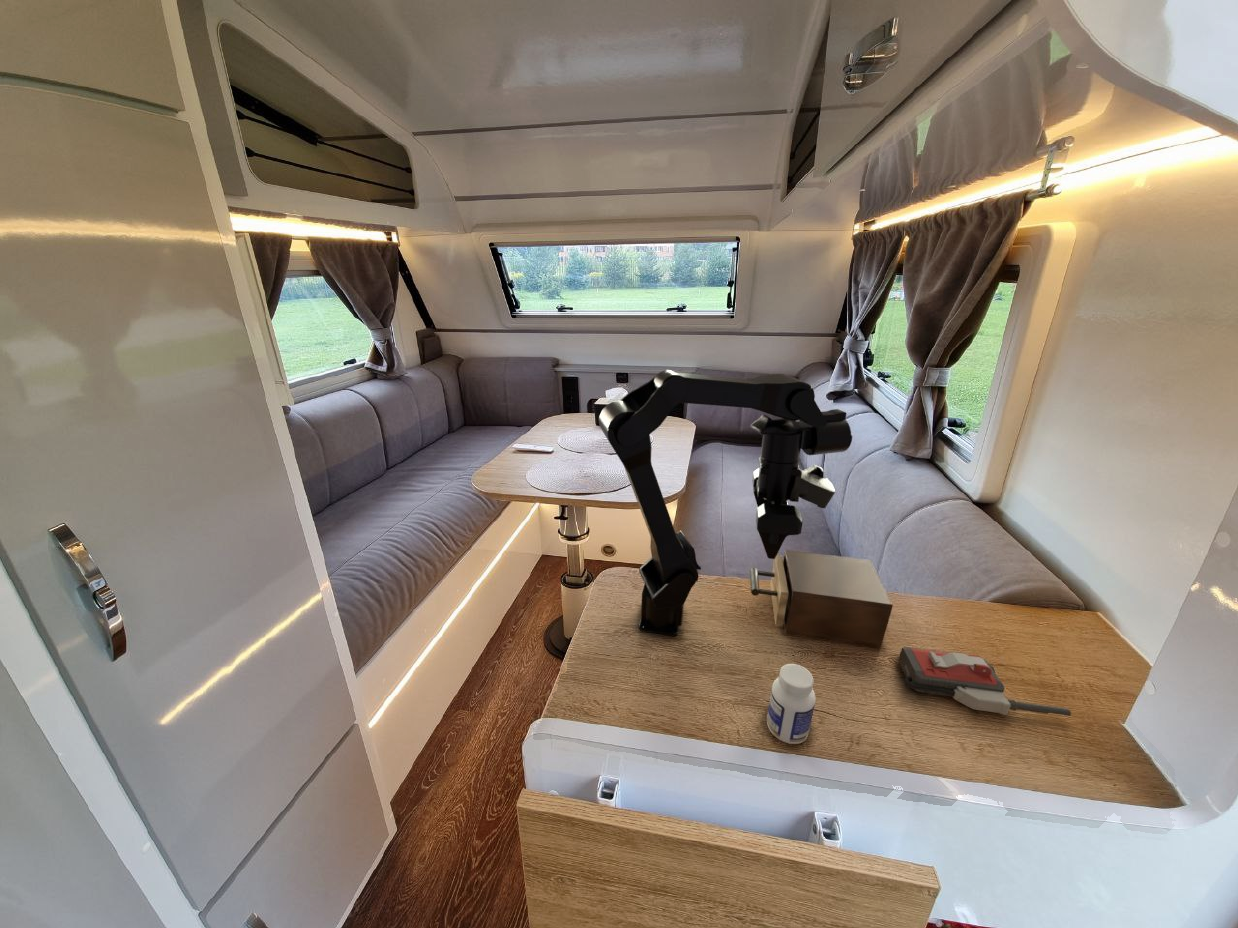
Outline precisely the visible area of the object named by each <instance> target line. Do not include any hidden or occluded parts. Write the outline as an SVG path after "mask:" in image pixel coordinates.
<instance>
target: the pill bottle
mask: <svg viewBox="0 0 1238 928" xmlns="http://www.w3.org/2000/svg"><path fill="white" fill-rule="evenodd" d="M814 680H815V679H814V676H813V675H812V672H810V671H809V670H808V669H807V668H806V667H804V666H802V665H801V664H797V663H786V664H784V665H783V666H782V667H781V668H780V670H779V675H778V677H777V678H776V679H775V680H774V681H773V683H772V686H771V689H770V690H771V691H770V694H769V695H770V696H769V702H768V708H767V715H766V724H767V727H768V730H769V732H771V734H772V735H773V736H774V737H775V738H777V739H778V740H779V741H781V742H783V743H786V744H790V745H798V744H801V743H804V742H805V741H806V740H807V738H808V737H809V734H810V729H811V724H812V720H813V716H814V711H815V706H816V699H817V698H816V693H815V691H814V689H813V687H814Z"/></svg>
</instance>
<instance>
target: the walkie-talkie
mask: <svg viewBox="0 0 1238 928" xmlns="http://www.w3.org/2000/svg"><path fill="white" fill-rule="evenodd" d="M897 662H898V664H899V666H900V668H901V670H902V672H903V674H904V676H905V677H904V685H905V686H906V687H908V688H910V689H913V690H914V691H916V693H917V692H918V693H922V694H923V693H924V694H931V695H939V696H946V697H952V698H953V699H954V700H955V701H957V702H959V703H961V704H962V705H964V706H966V707H967V708H970V709H972V710H974V711H975V710H976V711H981V712H982V711H983V712H990V713H995V714H996V713H997V714H998V715H999V714H1000V715H1004V716H1005V715H1006V716H1007V715H1008V714H1009V711H1010V710H1011V711H1022V712H1023V711H1024V712H1032V713H1039V714H1047V715H1048V714H1053V715H1061V716H1067V717H1068V716H1072V711H1071V710H1070V709H1069V708H1067V707H1062V706H1061V707H1060V706H1054V705H1053V706H1052V705H1046V704H1039V703H1030V702H1023V701H1016V700H1015V699H1011V698H1007V697H1006V696H1005V693H1004V691H1005V684H1004V682H1002V681H1001V679H1000V678H999V676H998V675H997V674H996V670H995V668H994V666H993V665H991V664H989V663H988V661H987V659H985V658H984V657H982V656H981V655H975V654H967V653H960V652H952V651H942V650H935V649H928V648H927V649H926V648H918V647H910V646H903V647H901V650H900V653H899V656H898V659H897Z"/></svg>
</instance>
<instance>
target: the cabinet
mask: <svg viewBox="0 0 1238 928" xmlns="http://www.w3.org/2000/svg"><path fill="white" fill-rule="evenodd" d="M782 560H783V565H784V571H785V576H787V570H788V574H789V579H790V584H791V589H792V596H791V601H790V606H789V610H788V605H786V611H785V616H784V622H783V626H784V633H785V635H790V636H796V637H803V638H809V639H815V640H823V641H827V642H828V641H830V642H835V643H842V644H848V645H855V646H862V647H868V648H874V649H879V650H880V649H881V648H882V645H883V641H884V639H885V634H886V631H887V628H888V625H889V621H890V617H891V614H892V609H893V606H894V604H893V602H892V600H891V598H890V596H889V594H888V592H887V589H886V588H885V586H884V584H883V582H882V579H881V578H880V576H879V574H878V572H877V570H876V568H875V566H874V564H873V562H872V560H871V559H866V558H865V559H864V558H856V557H848V556H841V555H831V554H823V553H814V552H806V551H799V550H792V549H784V554H783V558H782Z"/></svg>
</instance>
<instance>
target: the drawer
mask: <svg viewBox="0 0 1238 928" xmlns="http://www.w3.org/2000/svg"><path fill="white" fill-rule="evenodd" d="M771 571H772V572H770V571H763V570H758V568H756V567H751V568H750V569H749V583H750V594H751V595H752V596H755V597H756V596H759V595H760V594H761V595H765V596H766V595H767V596H771V603H772V604H771V605H772V611H773V618H774V626H777V627H783V626H784V616H785V611H786V605H788V610H789V606H790V601H791V596H792V589H791V584H790V579H789V574H788V570H787V576H785V571H784V565H783V555H781V554H777V556H776V558H775V559H773V564H772V569H771ZM759 576H762V577H768V578H770V582H769V587H770V588H769V589H763V588H760V581H759Z"/></svg>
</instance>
